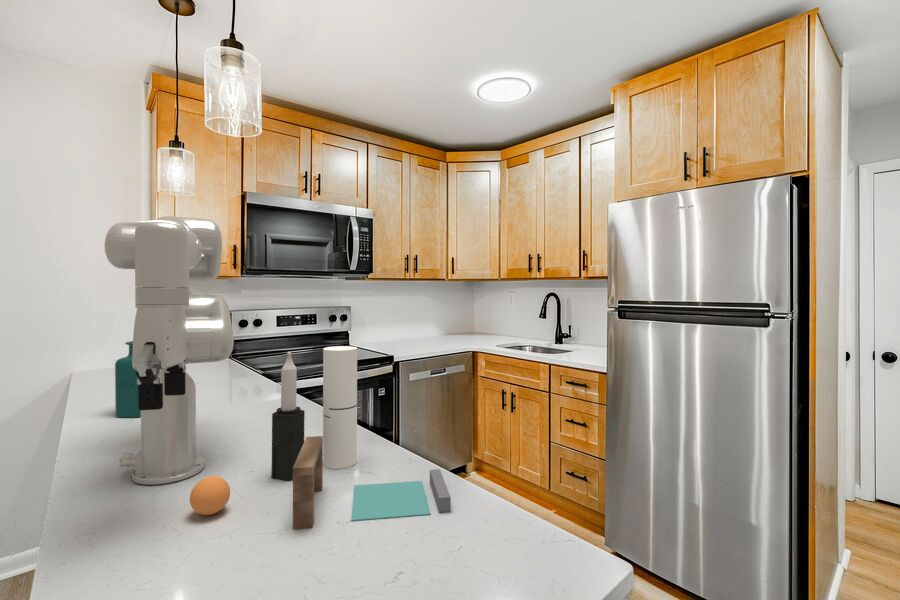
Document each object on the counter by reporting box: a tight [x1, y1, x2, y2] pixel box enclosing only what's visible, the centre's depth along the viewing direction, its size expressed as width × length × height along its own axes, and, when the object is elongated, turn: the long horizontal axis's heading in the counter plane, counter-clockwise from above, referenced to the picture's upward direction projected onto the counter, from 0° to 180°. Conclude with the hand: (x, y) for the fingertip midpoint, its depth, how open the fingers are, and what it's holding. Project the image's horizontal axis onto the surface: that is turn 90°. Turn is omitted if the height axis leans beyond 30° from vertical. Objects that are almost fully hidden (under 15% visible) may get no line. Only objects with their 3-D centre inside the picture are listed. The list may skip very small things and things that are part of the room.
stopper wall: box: [429, 468, 452, 513], centre depth 82 cm, size 2×12×2 cm, turn 10°
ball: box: [189, 475, 231, 516], centre depth 75 cm, size 6×6×6 cm
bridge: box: [292, 435, 324, 530], centre depth 78 cm, size 3×15×10 cm, turn 10°
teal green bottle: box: [114, 340, 141, 419], centre depth 133 cm, size 10×8×22 cm
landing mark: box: [351, 480, 431, 522], centre depth 80 cm, size 13×13×1 cm
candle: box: [271, 351, 306, 481], centre depth 91 cm, size 5×5×25 cm
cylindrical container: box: [322, 345, 358, 470], centre depth 97 cm, size 7×7×25 cm
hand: (163, 401), depth 74 cm, fingers open, 9 cm apart
